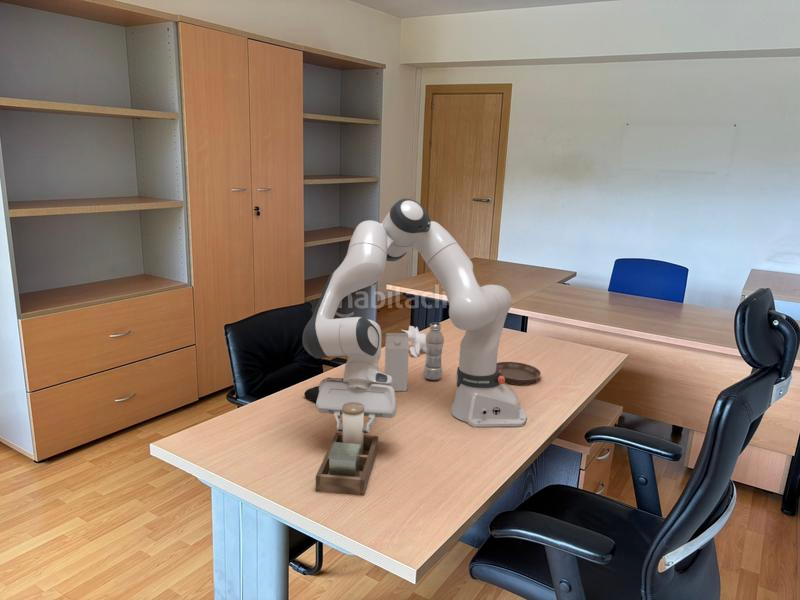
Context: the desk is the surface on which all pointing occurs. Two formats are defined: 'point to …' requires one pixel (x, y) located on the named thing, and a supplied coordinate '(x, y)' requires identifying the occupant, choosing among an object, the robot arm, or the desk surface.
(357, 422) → the lidded white canister
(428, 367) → the plastic bottle
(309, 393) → the carrying case or bag
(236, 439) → the desk surface
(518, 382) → the plant saucer
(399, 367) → the milk carton
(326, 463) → the crate
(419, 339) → the character figurine
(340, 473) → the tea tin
